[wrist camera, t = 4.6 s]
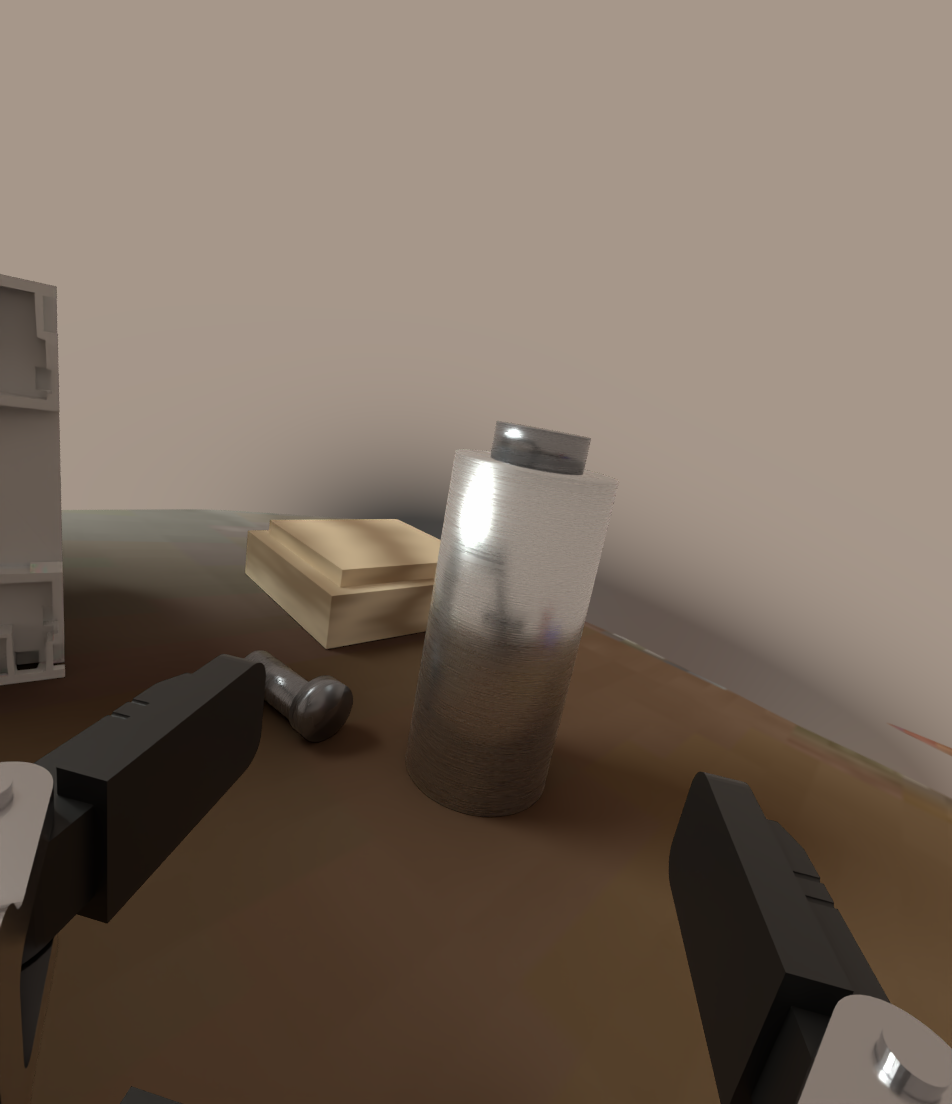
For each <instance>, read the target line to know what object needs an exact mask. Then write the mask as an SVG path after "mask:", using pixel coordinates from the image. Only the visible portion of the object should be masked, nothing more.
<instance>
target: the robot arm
mask: <svg viewBox="0 0 952 1104" xmlns="http://www.w3.org/2000/svg"><path fill="white" fill-rule="evenodd" d="M265 681H266V670H265V666H264V665H263V664H262V663H260V662H256V661H252V660H248V659H244V658H239V657H235V656H231V655H227V654H222V655H219V656H217V657H216V658H214V659H213V660H212V661H210V662H209V663H207V664H206V665H204V666H203V667H201V668H200V669H198V670H197V671H196V672H194V673H193V674H190V673H185V674H182V675H179V676H176V677H173V678H170V679H167V680H164V681H161V682H159V683H156V684H155V685H153V686H151V687H150V688H148V689H147V690H145V691H144V692H142V693H141V694H139V695H138V696H136V697H135V698H133V700H132V702H127V703H125V704H124V705H122V706H121V707H119V708H118V709H116V710H115V711H113V713H112V715H111V716H110V715H107V716H105V717H104V718H102V719H101V720H99V721H98V722H96V723H95V724H93V725H91V726H90V727H88V728H87V729H85V730H84V731H82V732H81V733H79V734H78V735H76V736H75V737H73V738H72V739H70V740H68V741H67V742H65V743H64V744H62V745H61V746H59V747H58V748H56V749H55V750H53V751H52V752H50V753H48V754H47V755H45V756H44V757H42V758H41V759H39V760H38V761H36V762H35V763H33V764H32V763H28V762H0V1104H31V1096H32V1089H33V1083H34V1077H35V1072H36V1066H37V1061H38V1055H39V1050H40V1044H41V1039H42V1033H43V1028H44V1022H45V1017H46V1012H47V1006H48V1001H49V995H50V990H51V984H52V979H53V973H54V968H55V962H56V957H57V951H58V932H59V931H60V930H61V929H62V928H63V927H64V926H65V925H66V924H67V923H68V922H69V921H70V920H71V919H72V918H73V917H74V916H75V915H76V914H78V915H81V916H84V917H88V918H91V919H94V920H97V921H101V922H104V923H108V922H109V921H110V920H111V919H112V918H113V917H114V916H115V915H116V913H117V912H118V911H119V910H120V909H121V908H122V907H123V906H124V905H125V903H126V902H127V901H128V900H129V899H130V898H131V897H132V896H133V895H134V893H135V892H136V891H137V890H138V889H139V888H140V887H141V886H142V885H143V884H144V882H145V881H146V880H147V879H148V878H149V877H150V876H151V875H152V874H153V872H154V871H155V870H156V869H157V868H158V867H159V866H160V865H161V864H162V862H163V861H164V860H165V859H166V858H167V857H168V856H169V855H170V854H171V852H172V851H173V850H174V849H175V848H176V847H177V846H178V845H179V844H180V843H181V841H182V840H183V839H184V838H185V837H186V836H187V835H188V834H189V833H190V831H191V830H192V829H193V828H194V827H195V826H196V825H197V824H198V823H199V821H200V820H201V819H202V818H203V817H204V816H205V815H206V814H207V813H208V811H209V810H210V809H211V808H212V807H213V806H214V805H215V804H216V803H217V802H218V800H219V799H220V798H221V797H222V796H223V795H224V794H225V793H226V792H227V790H228V789H229V788H230V787H231V786H232V785H233V784H234V783H235V782H236V780H237V779H238V778H239V777H240V776H241V775H242V774H243V773H244V772H245V770H246V769H247V768H248V767H249V765H250V763H251V762H252V760H253V758H254V756H255V754H256V751H257V749H258V746H259V742H260V738H261V729H262V717H263V705H264V693H265ZM669 880H670V886H671V890H672V895H673V899H674V903H675V908H676V912H677V916H678V921H679V925H680V929H681V934H682V938H683V942H684V947H685V951H686V955H687V960H688V964H689V968H690V972H691V977H692V981H693V985H694V990H695V994H696V998H697V1003H698V1007H699V1011H700V1016H701V1020H702V1024H703V1029H704V1033H705V1037H706V1042H707V1046H708V1050H709V1054H710V1059H711V1063H712V1067H713V1072H714V1076H715V1080H716V1085H717V1089H718V1093H719V1098H720V1102H721V1104H952V1049H951V1048H950V1047H949V1046H948V1045H947V1044H946V1043H945V1042H944V1041H943V1040H942V1039H941V1038H940V1037H939V1036H938V1035H936V1034H935V1033H934V1032H933V1031H932V1030H931V1029H929V1028H928V1027H927V1026H925V1025H924V1024H923V1023H922V1022H920V1021H919V1020H917V1019H916V1018H914V1017H913V1016H911V1015H910V1014H908V1013H907V1012H905V1011H903V1010H902V1009H900V1008H898V1007H896V1006H894V1005H892V1004H891V1003H890V1001H889V1000H888V998H887V996H886V994H885V992H884V991H883V989H882V987H881V985H880V984H879V982H878V980H877V978H876V976H875V975H874V973H873V971H872V969H871V968H870V966H869V964H868V962H867V960H866V959H865V957H864V955H863V953H862V952H861V950H860V948H859V946H858V944H857V943H856V941H855V939H854V937H853V936H852V934H851V932H850V930H849V928H848V927H847V925H846V923H845V921H844V919H843V918H842V916H841V914H840V912H839V911H838V909H835V908H834V902H833V900H832V898H831V896H830V895H829V893H828V891H827V889H826V887H825V886H824V884H822V883H820V877H819V875H818V873H817V871H816V870H815V868H814V866H813V864H812V863H811V861H810V859H809V857H808V855H807V854H806V852H805V850H804V849H803V848H802V847H801V846H800V845H799V844H798V843H797V841H796V840H795V839H794V838H793V837H792V836H791V835H790V834H789V833H788V832H787V831H786V830H785V829H784V828H783V827H782V826H781V825H780V824H779V823H778V822H776V821H772V820H768V819H766V818H765V816H764V814H763V812H762V810H761V808H760V806H759V804H758V802H757V800H756V798H755V796H754V794H753V792H752V790H751V788H750V787H749V785H748V784H747V783H745V782H742V781H738V780H734V779H730V778H725V777H721V776H717V775H713V774H709V773H705V772H698V773H697V774H696V776H695V777H694V779H693V781H692V784H691V787H690V790H689V793H688V796H687V799H686V802H685V805H684V808H683V811H682V814H681V817H680V820H679V823H678V826H677V829H676V832H675V836H674V839H673V842H672V845H671V850H670V857H669ZM120 1104H182V1103H179V1102H176V1101H173V1100H170V1099H167V1098H164V1097H161V1096H158V1095H155V1094H152V1093H149V1092H146V1091H144V1090H141V1089H138V1088H135V1087H132V1086H131V1087H130V1089H129V1091H128V1092H127V1094H126V1095H125V1097H124V1098H123V1100H122V1101H121V1103H120Z"/></svg>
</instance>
